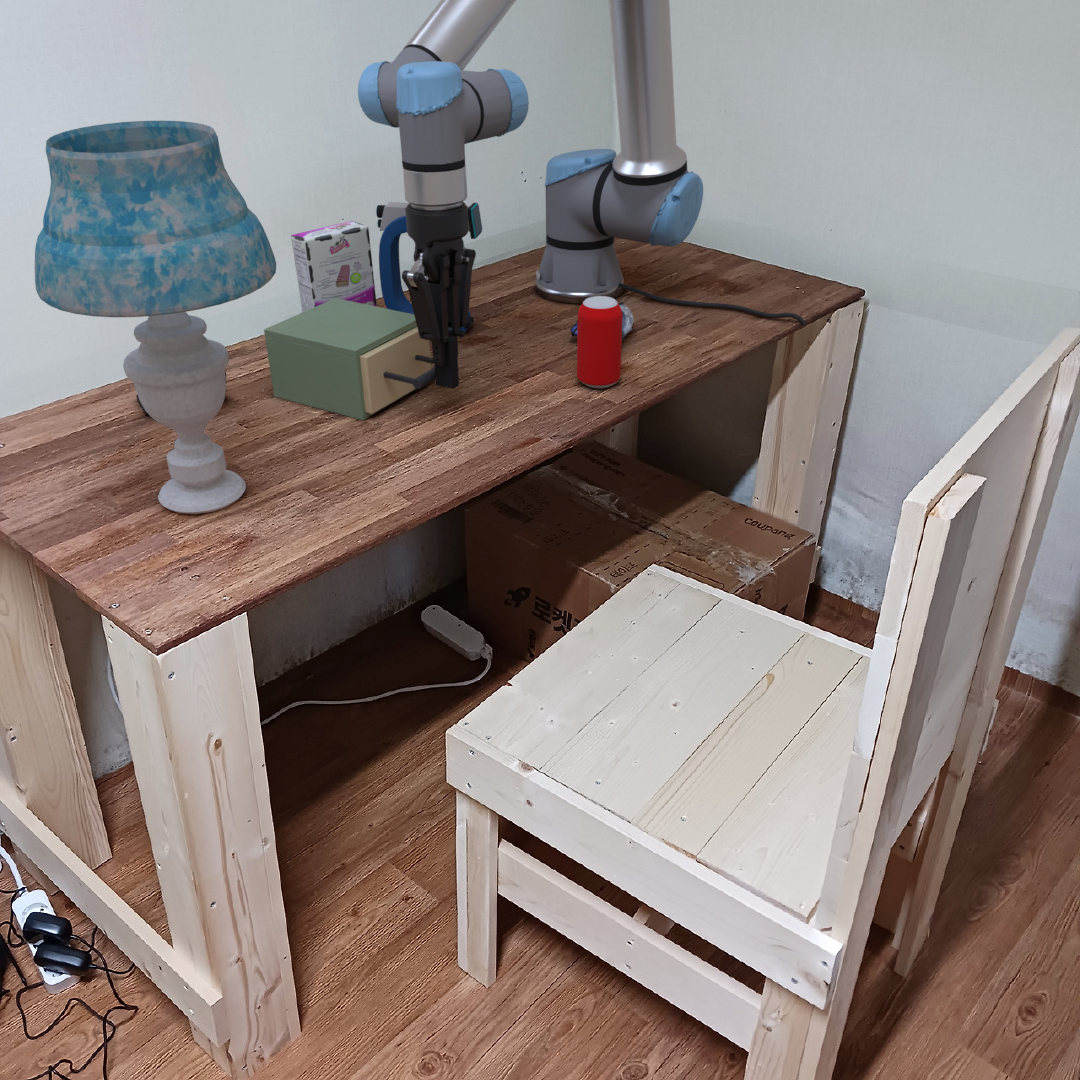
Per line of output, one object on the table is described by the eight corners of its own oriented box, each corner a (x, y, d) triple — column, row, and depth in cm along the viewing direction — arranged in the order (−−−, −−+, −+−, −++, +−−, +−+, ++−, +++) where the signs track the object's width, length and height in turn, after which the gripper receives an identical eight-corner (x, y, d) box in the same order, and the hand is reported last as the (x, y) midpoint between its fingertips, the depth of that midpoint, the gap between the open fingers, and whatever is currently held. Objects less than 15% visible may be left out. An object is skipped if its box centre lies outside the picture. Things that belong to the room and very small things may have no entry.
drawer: (469, 387, 148) (466, 333, 144) (410, 424, 139) (406, 367, 134) (351, 359, 158) (346, 308, 154) (288, 392, 148) (281, 337, 144)
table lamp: (214, 433, 139) (153, 105, 118) (349, 482, 127) (308, 128, 106) (51, 509, 122) (-53, 143, 101) (189, 573, 111) (103, 175, 90)
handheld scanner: (479, 335, 168) (475, 208, 158) (382, 329, 171) (372, 204, 161) (486, 326, 172) (483, 201, 162) (391, 320, 175) (382, 197, 165)
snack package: (662, 341, 166) (618, 317, 174) (660, 303, 162) (614, 281, 170) (600, 369, 162) (557, 344, 170) (595, 331, 158) (552, 307, 166)
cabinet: (428, 382, 153) (423, 316, 148) (362, 420, 142) (355, 350, 137) (342, 361, 160) (335, 297, 155) (273, 396, 149) (263, 329, 144)
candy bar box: (362, 320, 175) (352, 219, 166) (380, 328, 171) (370, 225, 163) (303, 337, 168) (289, 233, 160) (319, 346, 165) (306, 239, 156)
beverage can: (627, 379, 153) (630, 298, 147) (608, 394, 148) (610, 311, 142) (589, 371, 156) (590, 291, 149) (569, 386, 151) (569, 304, 145)
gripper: (441, 188, 135) (452, 364, 147) (377, 211, 126) (394, 397, 138) (491, 194, 132) (498, 374, 144) (429, 218, 122) (442, 408, 134)
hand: (447, 385), depth 141 cm, fingers closed
